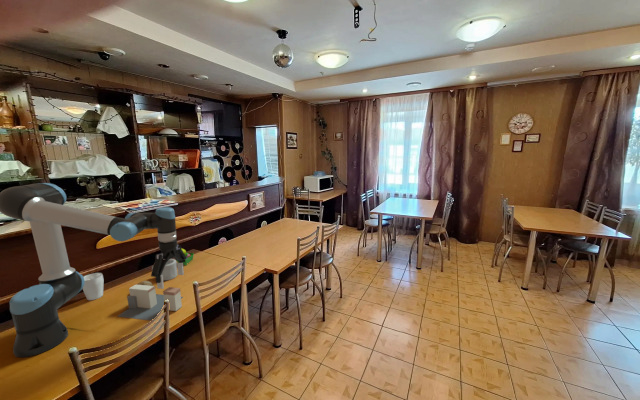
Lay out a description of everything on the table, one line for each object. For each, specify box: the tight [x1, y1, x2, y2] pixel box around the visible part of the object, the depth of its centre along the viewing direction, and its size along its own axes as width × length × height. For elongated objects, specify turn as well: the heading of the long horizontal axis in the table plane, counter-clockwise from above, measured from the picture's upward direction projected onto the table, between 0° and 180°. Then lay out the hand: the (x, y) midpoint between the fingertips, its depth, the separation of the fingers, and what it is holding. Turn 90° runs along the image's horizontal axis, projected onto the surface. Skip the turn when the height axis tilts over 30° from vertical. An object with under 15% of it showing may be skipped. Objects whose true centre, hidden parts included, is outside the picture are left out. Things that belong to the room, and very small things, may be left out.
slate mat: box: [116, 293, 184, 322], centre depth 128 cm, size 20×20×1 cm
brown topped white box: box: [162, 286, 183, 312], centre depth 125 cm, size 4×6×10 cm
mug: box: [151, 258, 178, 282], centre depth 157 cm, size 14×11×10 cm
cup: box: [82, 272, 105, 301], centre depth 135 cm, size 9×9×12 cm
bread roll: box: [137, 280, 154, 286], centre depth 141 cm, size 10×10×8 cm
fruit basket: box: [175, 247, 195, 266], centre depth 178 cm, size 11×9×11 cm
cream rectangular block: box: [126, 283, 157, 309], centre depth 127 cm, size 6×12×10 cm, turn 81°
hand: (171, 281), depth 123 cm, fingers open, 13 cm apart
